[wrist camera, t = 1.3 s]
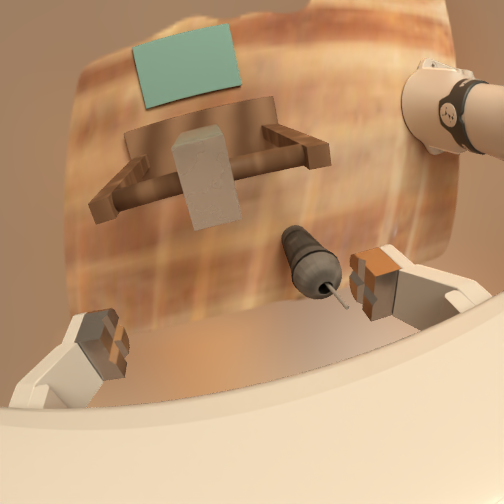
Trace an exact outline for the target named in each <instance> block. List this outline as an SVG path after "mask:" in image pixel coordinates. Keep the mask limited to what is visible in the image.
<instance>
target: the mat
mask: <svg viewBox="0 0 504 504" xmlns="http://www.w3.org/2000/svg"><path fill="white" fill-rule="evenodd" d="M132 49H133V53H134V58H135V63H136V67H137V72H138V76H139V80H140V85H141V89H142V93H143V97H144V101H145V105H146V109H147V108H151V107H154V106H157V105H161V104H164V103H167V102H171V101H175V100H178V99H182V98H186V97H190V96H194V95H198V94H202V93H206V92H210V91H215V90H219V89H224V88H229V87H234V86H239V85H242V84H241V79H240V75H239V70H238V65H237V61H236V56H235V51H234V47H233V42H232V38H231V33H230V29H229V24H222V25H217V26H211V27H206V28H202V29H197V30H192V31H188V32H184V33H180V34H176V35H172V36H168V37H165V38H161V39H158V40H154V41H151V42H148V43H144V44H141V45H138V46H135V47H132Z"/></svg>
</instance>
